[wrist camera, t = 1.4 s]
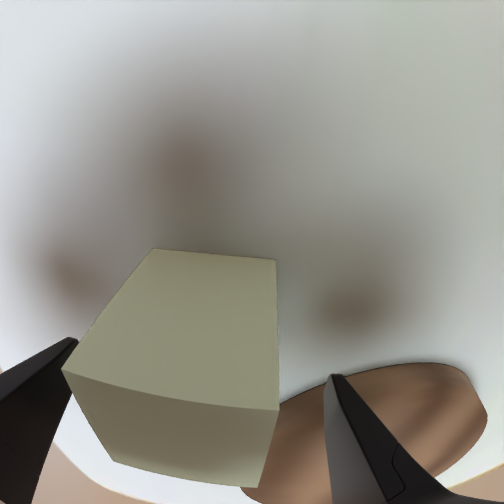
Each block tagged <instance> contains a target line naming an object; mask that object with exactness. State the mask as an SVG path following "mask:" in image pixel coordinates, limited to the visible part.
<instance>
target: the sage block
mask: <svg viewBox="0 0 504 504" xmlns="http://www.w3.org/2000/svg"><path fill="white" fill-rule="evenodd" d="M61 370H62V372H63V374H64V377H65V379H66V381H67V383H68V385H69V387H70V389H71V391H72V393H73V395H74V397H75V399H76V401H77V403H78V404H79V406H80V408H81V410H82V412H83V414H84V415H85V417H86V419H87V421H88V422H89V424H90V426H91V427H92V429H93V431H94V432H95V434H96V436H97V437H98V439H99V440H100V442H101V443H102V445H103V447H104V448H105V450H106V451H107V453H108V454H109V456H110V457H111V459H112V460H113V461H114V462H117V463H121V464H124V465H127V466H131V467H134V468H138V469H142V470H145V471H149V472H153V473H158V474H162V475H166V476H171V477H176V478H181V479H186V480H192V481H198V482H205V483H212V484H219V485H228V486H239V487H252V488H257V487H258V484H259V481H260V477H261V474H262V471H263V468H264V464H265V461H266V457H267V454H268V450H269V447H270V443H271V440H272V436H273V433H274V429H275V425H276V421H277V418H278V414H279V351H278V313H277V282H276V260H272V259H261V258H250V257H239V256H228V255H218V254H207V253H197V252H186V251H176V250H165V249H155V248H152V250H151V251H150V252H149V253H148V254H147V256H146V257H145V258H144V259H143V260H142V262H141V263H140V264H139V265H138V266H137V268H136V269H135V270H134V271H133V273H132V274H131V275H130V276H129V278H128V279H127V280H126V281H125V283H124V284H123V285H122V286H121V288H120V289H119V290H118V291H117V293H116V294H115V295H114V297H113V298H112V299H111V300H110V302H109V303H108V304H107V306H106V307H105V308H104V310H103V311H102V312H101V314H100V315H99V316H98V318H97V319H96V320H95V322H94V323H93V324H92V326H91V327H90V328H89V330H88V331H87V333H86V334H85V335H84V337H83V338H82V339H81V341H80V342H79V344H78V345H77V347H76V348H75V349H74V351H73V352H72V354H71V355H70V357H69V358H68V359H67V361H66V362H65V364H64V365H63V367H62V368H61Z"/></svg>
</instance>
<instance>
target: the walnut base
mask: <svg viewBox="0 0 504 504" xmlns="http://www.w3.org/2000/svg"><path fill="white" fill-rule="evenodd" d="M345 378H346V379H347V380H348V382H349V383H350V384H351V385H352V386H353V388H354V389H355V390H356V391H357V392H358V394H359V395H360V396H361V397H362V398H363V400H364V401H365V402H366V403H367V404H368V406H369V407H370V408H371V409H372V410H373V412H374V413H375V414H376V415H377V416H378V418H379V419H380V420H381V421H382V422H383V424H384V425H385V426H386V427H387V428H388V430H389V431H390V432H391V433H392V434H393V435H394V437H395V438H396V439H397V440H398V443H400V444H401V445H402V446H403V447H404V448H405V450H406V451H407V452H408V453H409V454H410V455H411V456H412V457H413V458H414V459H415V460H416V461H417V462H418V463H419V464H420V465H421V466H422V467H423V468H424V469H425V470H426V471H427V472H428V473H429V474H430V475H431V476H433V477H436V476H438V475H439V474H441V473H442V472H444V471H445V470H447V469H448V468H450V467H451V466H452V465H454V464H455V463H456V462H457V461H459V460H460V459H461V458H462V457H463V456H464V455H465V454H466V453H467V452H468V451H469V450H470V449H471V448H472V447H473V446H474V445H475V443H476V442H477V441H478V440H479V438H480V437H481V435H482V434H483V431H484V429H485V427H486V424H487V412H486V410H485V408H484V406H483V404H482V402H481V400H480V398H479V396H478V395H477V393H476V391H475V389H474V387H473V385H472V384H471V382H470V380H469V378H468V377H467V376H466V375H465V374H464V373H463V372H462V371H460V370H458V369H457V368H455V367H452V366H448V365H445V364H437V363H411V364H402V365H395V366H389V367H384V368H378V369H374V370H370V371H366V372H362V373H358V374H354V375H351V376H348V377H345ZM325 386H326V384H324V385H321V386H318V387H316V388H313V389H311V390H309V391H306V392H304V393H302V394H299V395H297V396H295V397H293V398H291V399H289V400H287V401H286V402H284V403H282V404H280V405H279V414H278V418H277V421H276V425H275V429H274V433H273V436H272V440H271V443H270V447H269V450H268V454H267V457H266V461H265V464H264V468H263V471H262V474H261V477H260V481H259V484H258V487H257V488H252V487H240V488H241V490H242V491H243V492H244V493H245V494H246V495H247V496H248V497H250V498H251V499H253V500H255V501H257V502H259V503H262V504H332V494H331V485H330V477H329V468H328V460H327V452H326V445H325V437H324V397H323V394H324V389H325Z"/></svg>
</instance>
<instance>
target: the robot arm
mask: <svg viewBox="0 0 504 504" xmlns="http://www.w3.org/2000/svg"><path fill="white" fill-rule="evenodd" d="M78 344H79V341H78V340H77V339H75V338H71V337H67V338H65V339H63V340H61V341H59V342H58V343H56V344H54V345H52V346H50V347H48V348H47V349H45V350H43V351H41V352H39V353H38V354H36V355H34V356H32V357H30V358H29V359H27V360H25V361H23V362H21V363H19V364H18V365H16V366H14V367H12V368H10V369H9V370H7V371H5V372H3V373H1V374H0V504H31V503H32V499H33V496H34V493H35V489H36V486H37V483H38V480H39V476H40V474H41V471H42V468H43V465H44V462H45V459H46V457H47V454H48V451H49V448H50V446H51V443H52V441H53V438H54V435H55V433H56V430H57V428H58V425H59V423H60V421H61V418H62V416H63V413H64V411H65V409H66V406H67V404H68V402H69V400H70V397H71V395H72V391H71V389H70V387H69V385H68V383H67V381H66V379H65V377H64V374H63V372H62V370H61V368H62V367H63V365H64V364H65V362H66V361H67V359H68V358H69V357H70V355H71V354H72V352H73V351H74V349H75V348H76V347H77V345H78ZM323 397H324V437H325V445H326V452H327V460H328V468H329V477H330V485H331V494H332V504H504V502H496V501H490V500H483V499H477V498H472V497H467V496H462V495H458V494H455V493H453V492H451V491H449V490H448V489H446V488H445V487H444V486H443V485H441V484H440V483H439V482H438V481H437V480H436V479H435V478H434V477H433V476H431V475H430V474H429V473H428V472H427V471H426V470H425V469H424V468H423V467H422V466H421V465H420V464H419V463H418V462H417V461H416V460H415V459H414V458H413V457H412V456H411V455H410V454H409V453H408V452H407V451H406V450H405V448H404V447H403V446H402V445H401V444H400V443H398V440H397V439H396V438H395V437H394V435H393V434H392V433H391V432H390V431H389V430H388V428H387V427H386V426H385V425H384V424H383V422H382V421H381V420H380V419H379V418H378V416H377V415H376V414H375V413H374V412H373V410H372V409H371V408H370V407H369V406H368V404H367V403H366V402H365V401H364V400H363V398H362V397H361V396H360V395H359V394H358V392H357V391H356V390H355V389H354V388H353V386H352V385H351V384H350V383H349V382H348V380H347V379H346V378H345V377H344V376H343V375H342V374H331V375H330V376H329V378H328V381H327V383H326V386H325V389H324V394H323Z"/></svg>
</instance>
